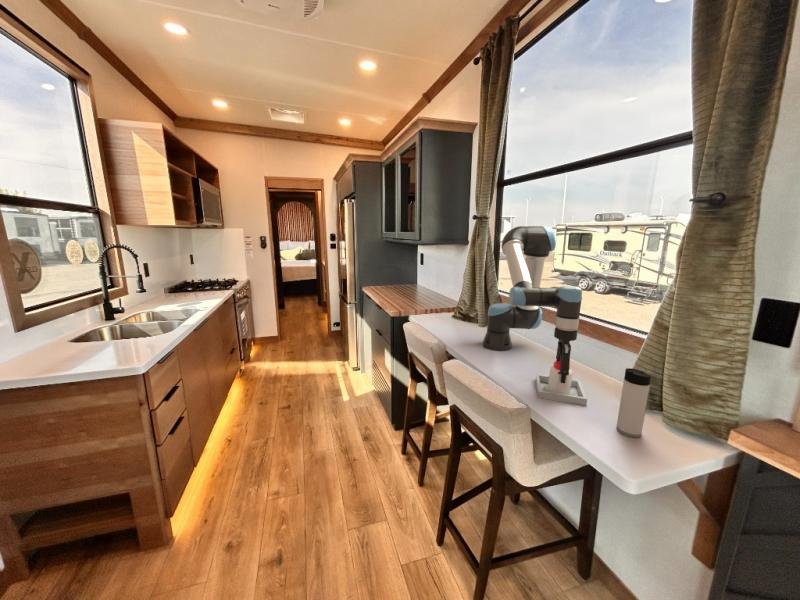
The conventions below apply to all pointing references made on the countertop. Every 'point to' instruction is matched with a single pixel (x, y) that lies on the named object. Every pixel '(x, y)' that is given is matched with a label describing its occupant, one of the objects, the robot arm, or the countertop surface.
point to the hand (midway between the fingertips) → (559, 384)
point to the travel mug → (633, 402)
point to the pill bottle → (554, 379)
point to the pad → (549, 391)
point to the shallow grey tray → (561, 397)
